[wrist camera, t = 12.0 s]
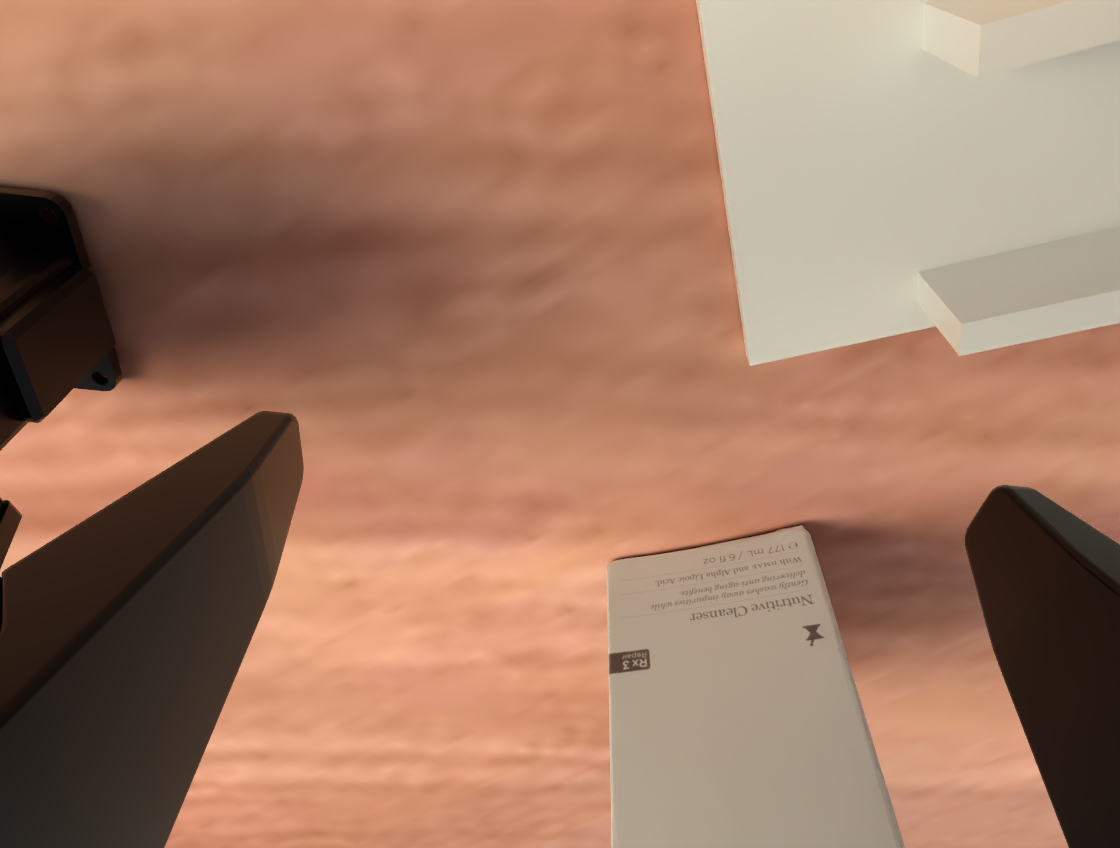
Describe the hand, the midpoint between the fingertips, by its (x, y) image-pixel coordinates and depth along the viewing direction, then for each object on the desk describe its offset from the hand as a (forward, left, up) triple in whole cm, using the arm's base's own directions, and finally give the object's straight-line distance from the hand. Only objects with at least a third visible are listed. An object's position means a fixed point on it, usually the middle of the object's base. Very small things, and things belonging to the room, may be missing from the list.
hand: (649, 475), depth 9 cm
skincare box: (+7, -17, -13) cm, 23 cm away
